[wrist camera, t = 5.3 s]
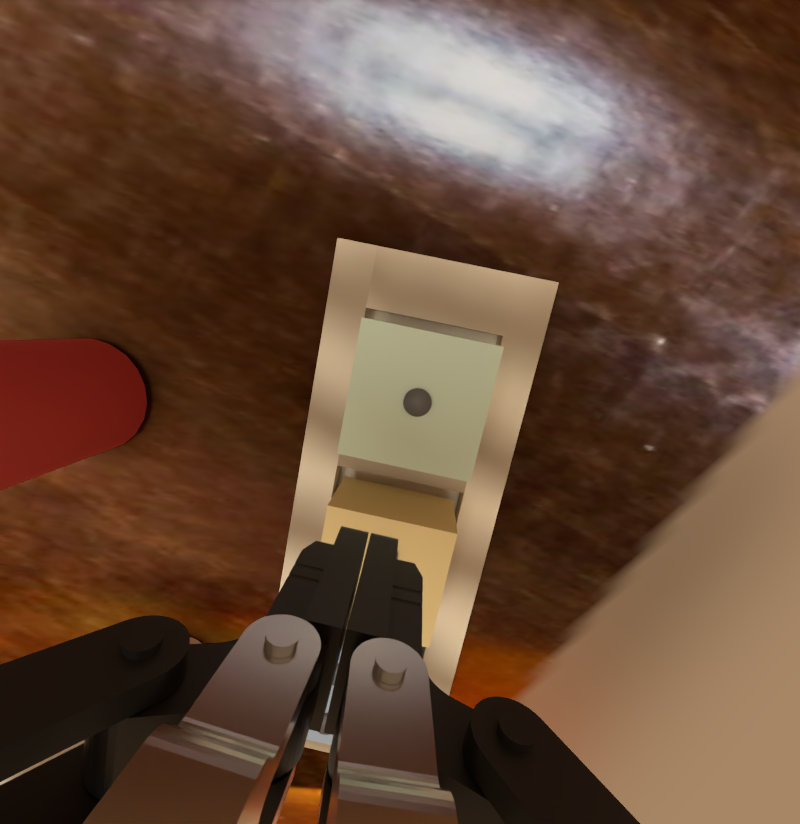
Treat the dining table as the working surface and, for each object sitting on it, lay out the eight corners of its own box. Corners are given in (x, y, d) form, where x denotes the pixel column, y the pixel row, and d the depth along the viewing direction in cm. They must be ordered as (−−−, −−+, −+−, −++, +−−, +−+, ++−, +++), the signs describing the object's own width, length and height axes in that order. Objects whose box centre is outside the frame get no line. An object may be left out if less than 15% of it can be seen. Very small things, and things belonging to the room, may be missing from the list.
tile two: (344, 476, 24) (326, 507, 19) (452, 499, 23) (457, 536, 19) (326, 574, 25) (305, 622, 21) (429, 597, 25) (429, 651, 20)
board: (345, 245, 23) (337, 237, 21) (547, 286, 23) (558, 282, 21) (267, 708, 29) (255, 735, 27) (427, 745, 29) (427, 776, 27)
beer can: (175, 392, 25) (-44, 446, 14) (111, 468, 27) (-140, 578, 15) (87, 313, 25) (-218, 298, 13) (26, 394, 26) (-304, 447, 14)
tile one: (373, 319, 22) (360, 316, 18) (490, 343, 22) (504, 347, 18) (352, 432, 23) (336, 454, 19) (463, 456, 23) (470, 483, 19)
